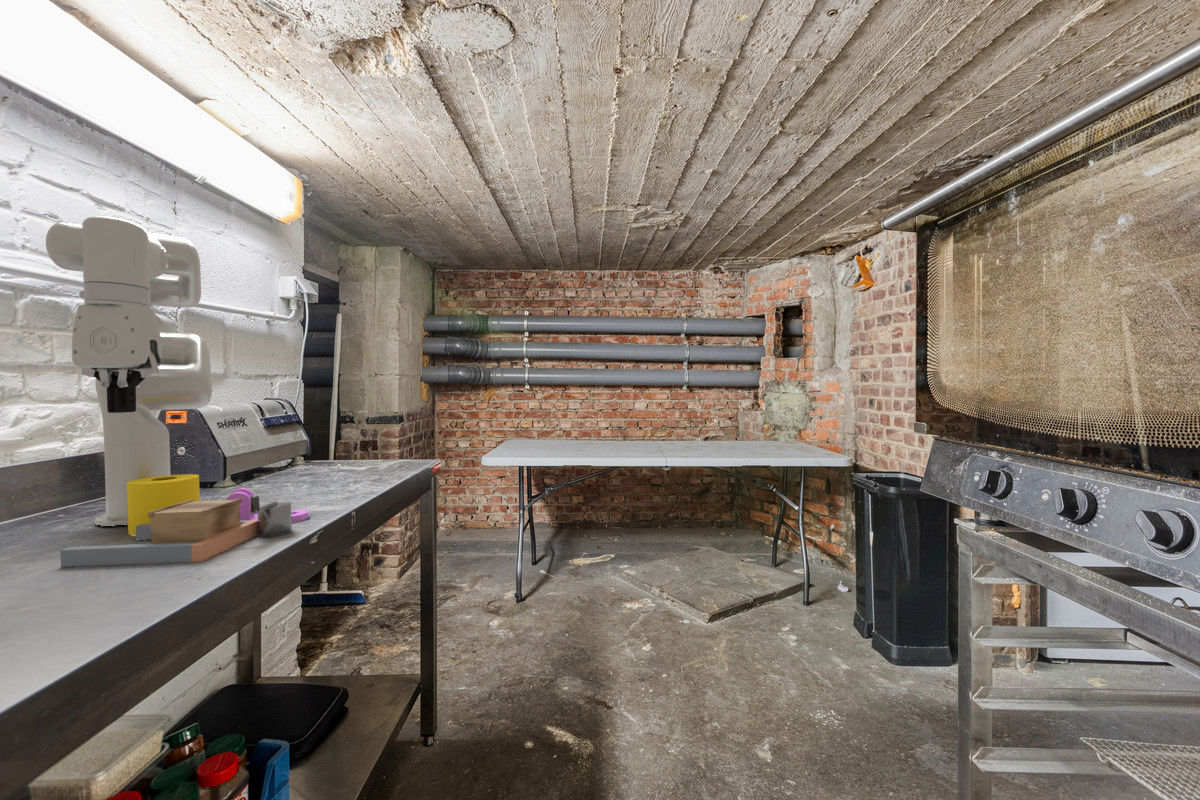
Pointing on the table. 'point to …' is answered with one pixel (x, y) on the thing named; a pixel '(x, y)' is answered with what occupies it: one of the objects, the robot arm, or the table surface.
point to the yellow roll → (158, 495)
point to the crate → (193, 520)
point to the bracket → (245, 514)
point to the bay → (158, 549)
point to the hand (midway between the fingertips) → (122, 412)
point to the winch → (272, 517)
